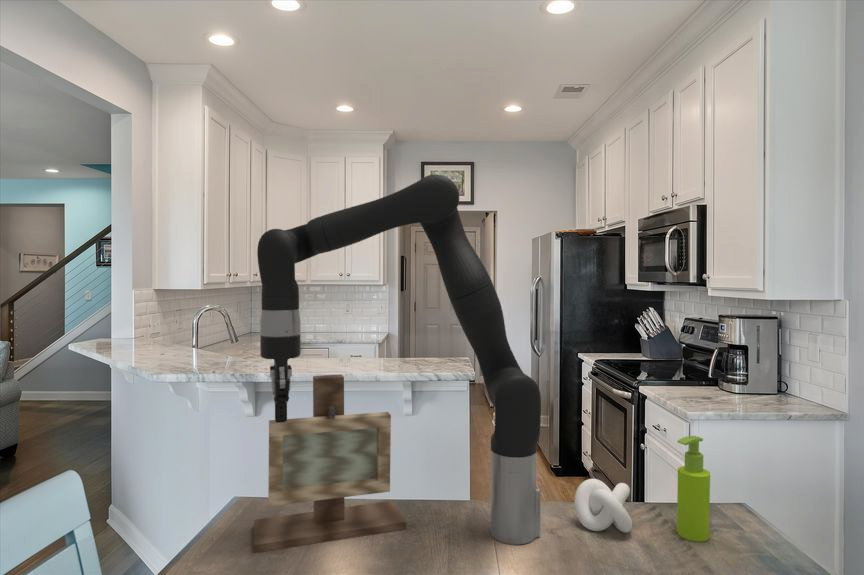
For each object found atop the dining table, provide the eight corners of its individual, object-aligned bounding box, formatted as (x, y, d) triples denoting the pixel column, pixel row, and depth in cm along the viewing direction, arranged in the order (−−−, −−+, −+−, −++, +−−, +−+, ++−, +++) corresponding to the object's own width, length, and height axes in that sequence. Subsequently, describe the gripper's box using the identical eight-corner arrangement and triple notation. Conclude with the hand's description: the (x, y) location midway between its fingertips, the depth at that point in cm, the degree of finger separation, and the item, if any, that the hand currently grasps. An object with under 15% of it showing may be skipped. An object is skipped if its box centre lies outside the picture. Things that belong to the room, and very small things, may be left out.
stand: (393, 506, 122) (392, 368, 121) (406, 528, 111) (406, 377, 111) (253, 526, 112) (252, 376, 111) (254, 552, 102) (252, 387, 101)
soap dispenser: (667, 532, 110) (668, 435, 109) (689, 525, 113) (691, 431, 113) (692, 545, 105) (694, 444, 104) (715, 537, 108) (717, 439, 107)
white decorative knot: (650, 537, 108) (651, 493, 108) (598, 545, 105) (599, 500, 105) (616, 513, 119) (616, 473, 119) (568, 519, 116) (568, 478, 115)
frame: (387, 487, 114) (388, 402, 113) (389, 491, 111) (390, 405, 111) (268, 501, 106) (269, 410, 105) (268, 506, 103) (269, 413, 103)
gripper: (303, 335, 99) (303, 428, 100) (297, 328, 112) (297, 411, 112) (261, 337, 97) (261, 432, 97) (259, 329, 109) (260, 414, 110)
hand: (280, 421), depth 105 cm, fingers closed
